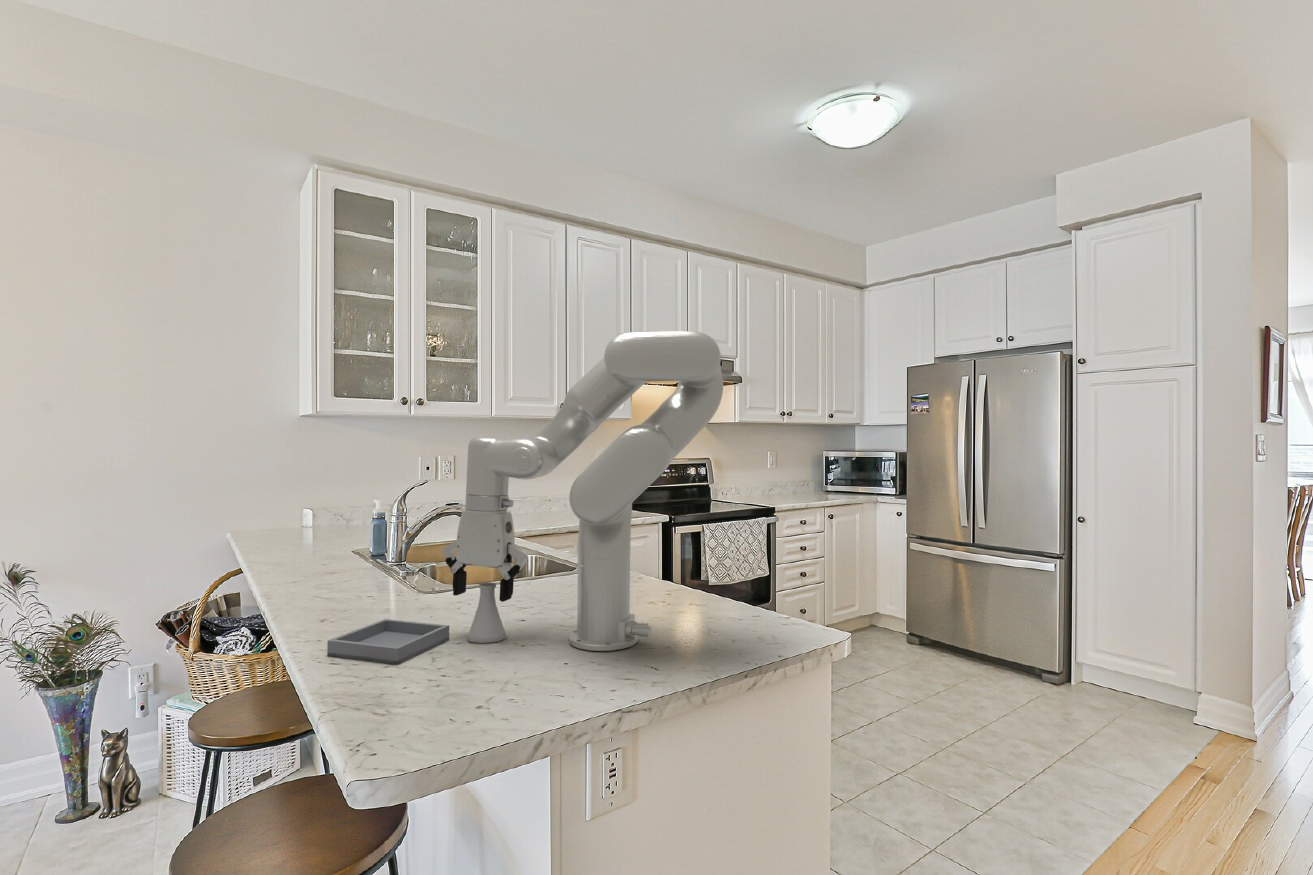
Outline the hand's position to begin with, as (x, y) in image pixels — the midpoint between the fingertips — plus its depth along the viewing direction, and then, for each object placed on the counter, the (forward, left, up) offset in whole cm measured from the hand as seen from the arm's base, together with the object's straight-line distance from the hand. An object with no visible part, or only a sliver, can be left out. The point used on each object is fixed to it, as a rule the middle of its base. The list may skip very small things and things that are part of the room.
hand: (482, 596), depth 119 cm
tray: (+12, +10, -8) cm, 17 cm away
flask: (-1, 0, -8) cm, 8 cm away
